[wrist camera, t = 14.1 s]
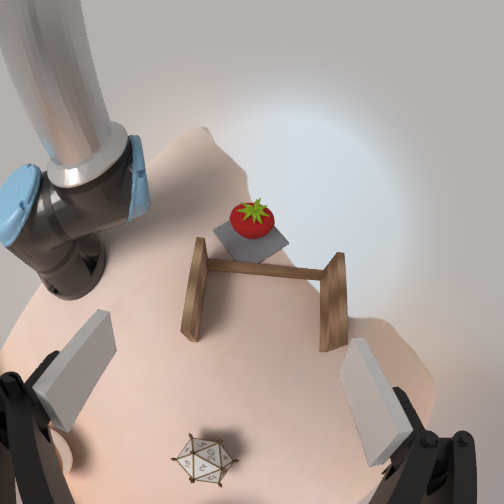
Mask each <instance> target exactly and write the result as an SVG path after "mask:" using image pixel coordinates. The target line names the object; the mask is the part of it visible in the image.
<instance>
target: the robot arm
mask: <svg viewBox="0 0 504 504" xmlns="http://www.w3.org/2000/svg"><path fill="white" fill-rule="evenodd" d="M0 47H1V51H2V54H3V57H4V60H5V63H6V65H7V68H8V71H9V73H10V76H11V78H12V81H13V83H14V86H15V88H16V91H17V93H18V95H19V98H20V100H21V102H22V104H23V106H24V108H25V111H26V113H27V115H28V117H29V119H30V121H31V123H32V125H33V127H34V129H35V130H36V133H37V135H38V137H39V138H40V140H41V142H42V144H43V146H44V148H45V149H46V151H47V153H48V155H49V156H50V160H49V162H48V166H47V171H44V172H41V170H40V168H39V167H37V166H36V165H33V164H26V165H24V166H22V167H20V168H19V169H17V170H16V171H15V172H14V173H12V174H11V175H10V176H9V178H8V179H7V180H6V181H5V182H4V184H3V185H2V187H1V189H0V242H1V243H2V245H3V246H4V247H6V248H7V249H8V250H10V251H11V252H12V253H13V254H14V255H16V256H17V257H18V258H20V259H21V260H22V261H23V262H25V263H26V264H27V265H29V266H30V267H31V268H33V269H34V270H35V271H37V273H38V275H39V277H40V279H41V280H42V282H43V284H44V285H45V287H46V288H47V290H48V291H49V292H50V293H52V294H53V295H55V296H56V297H58V298H60V299H63V300H75V299H78V298H81V297H83V296H84V295H86V294H87V293H88V292H90V291H91V290H92V289H93V288H94V286H95V285H96V284H97V282H98V281H99V279H100V277H101V275H102V272H103V270H104V266H105V248H104V245H103V243H102V241H101V240H100V238H99V237H98V236H97V234H96V233H97V232H100V231H103V230H106V229H109V228H112V227H115V226H118V225H121V224H124V223H128V222H130V220H132V219H135V218H137V217H140V216H142V215H144V214H146V213H147V212H148V210H149V208H150V194H149V188H148V181H147V176H146V169H145V163H144V156H143V149H142V143H141V139H140V137H139V136H138V135H135V136H133V135H130V136H128V135H127V132H126V130H125V128H124V127H123V126H122V125H121V124H119V123H117V122H113V121H110V119H109V116H108V112H107V109H106V107H105V103H104V99H103V96H102V93H101V89H100V86H99V82H98V79H97V75H96V71H95V67H94V63H93V59H92V56H91V51H90V47H89V43H88V38H87V34H86V28H85V23H84V19H83V13H82V7H81V1H80V0H0ZM116 351H117V349H116V344H115V339H114V334H113V329H112V323H111V317H110V312H109V311H104V310H99V309H98V310H97V311H96V312H95V313H94V314H93V316H92V317H91V318H90V319H89V320H88V321H87V322H86V323H85V324H84V326H83V327H82V328H81V329H80V330H79V331H78V332H77V333H76V335H75V336H74V337H73V338H72V339H71V340H70V341H69V343H68V344H67V345H66V346H65V347H64V348H63V350H62V351H61V352H59V351H57V350H56V351H54V352H52V353H51V354H49V355H48V356H47V357H46V358H45V359H44V360H43V363H41V364H40V365H39V366H38V368H37V369H36V370H35V371H34V372H33V374H32V375H31V376H30V377H29V378H28V380H27V381H26V382H25V383H23V381H22V379H21V377H20V375H19V374H18V373H16V372H6V373H4V374H3V375H1V376H0V504H16V491H15V477H16V482H17V486H18V489H19V493H20V496H21V499H22V503H23V504H75V502H74V500H73V498H72V495H71V493H70V490H69V488H68V485H67V483H66V480H65V477H64V474H63V472H62V469H61V466H60V463H59V460H58V456H57V453H56V450H55V446H54V442H53V439H52V435H51V431H50V428H49V425H48V424H49V422H50V420H51V421H52V423H53V424H54V426H55V427H56V428H58V429H60V430H62V431H64V432H66V433H69V431H70V429H71V427H72V425H73V424H74V422H75V420H76V418H77V416H78V415H79V413H80V411H81V409H82V408H83V406H84V404H85V402H86V401H87V399H88V397H89V395H90V394H91V392H92V390H93V389H94V387H95V385H96V384H97V382H98V380H99V379H100V377H101V375H102V374H103V372H104V370H105V369H106V367H107V366H108V364H109V362H110V361H111V359H112V358H113V356H114V354H115V353H116ZM338 375H339V378H340V381H341V384H342V387H343V389H344V392H345V395H346V398H347V401H348V404H349V407H350V410H351V413H352V415H353V418H354V421H355V424H356V427H357V430H358V434H359V437H360V440H361V443H362V446H363V449H364V452H365V455H366V459H367V462H368V465H369V467H371V466H376V465H381V464H384V463H385V462H386V461H387V460H388V459H389V458H390V459H391V462H392V463H391V464H390V465H389V466H388V467H387V468H386V469H385V470H384V471H383V472H382V474H384V473H385V472H386V473H385V475H384V477H383V479H382V481H381V483H380V484H379V486H378V488H377V490H376V492H375V494H374V495H373V497H372V499H371V500H370V502H369V504H477V468H476V455H475V443H474V439H473V437H472V435H471V434H470V433H468V432H466V431H458V432H457V433H456V434H455V435H454V436H453V437H452V438H439V437H438V436H437V435H436V434H435V433H434V432H432V431H428V430H425V428H424V426H423V425H422V423H421V421H420V419H419V417H418V415H417V413H416V411H415V409H414V408H413V406H412V404H411V402H410V400H409V398H408V397H407V395H406V393H405V392H404V391H403V390H402V389H400V388H399V387H393V388H392V387H391V385H390V383H389V381H388V379H387V378H386V376H385V374H384V372H383V370H382V368H381V367H380V365H379V363H378V361H377V359H376V357H375V356H374V354H373V352H372V350H371V349H370V347H369V345H368V343H367V341H366V340H365V338H352V339H351V342H350V345H349V348H348V350H347V353H346V356H345V358H344V361H343V364H342V366H341V369H340V371H339V374H338Z"/></svg>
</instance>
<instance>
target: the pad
mask: <svg viewBox="0 0 504 504" xmlns="http://www.w3.org/2000/svg"><path fill="white" fill-rule="evenodd" d="M213 232H214V233H215V235H216V236H217V237H218V239H219V240H220V241H221V242H222V244H223V245H224V246H225V248H226V249H227V250H228V252H229V253H230V254H231V256H232V257H233V258H234V260H235V261H238V262H247V263H257V264H259V263H260V262H262V261H264V260H265V259H267V258H268V257H270V256H271V255H273V254H274V253H276V252H277V251H279V250H280V249H282V248H283V247H285V246H286V245H288V244H289V242H288V241H287V240H286V239H285V237H284V236H283V235H282V234H281V233H280V232H279V231H278V230H277V228H276V227H275V226H274V227H273V228H272V230H271V231H270V232H269V233H268V234H267V235H266V236H264V237H261V238H258V239H247V238H245V237H243V236H241V235H239V234H238V233H236V231H235V230H234V229H233V227H232V225H231V223H230V221H228V222H226V223H224V224H223V225H221V226H219V227H217V228H216V229H214V230H213Z"/></svg>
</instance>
